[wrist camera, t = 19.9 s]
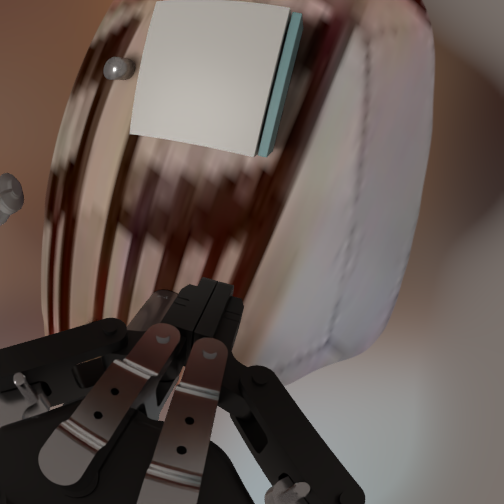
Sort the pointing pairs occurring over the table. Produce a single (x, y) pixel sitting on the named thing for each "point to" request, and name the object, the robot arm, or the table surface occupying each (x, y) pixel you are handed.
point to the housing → (209, 72)
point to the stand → (119, 68)
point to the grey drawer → (280, 85)
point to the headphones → (9, 196)
